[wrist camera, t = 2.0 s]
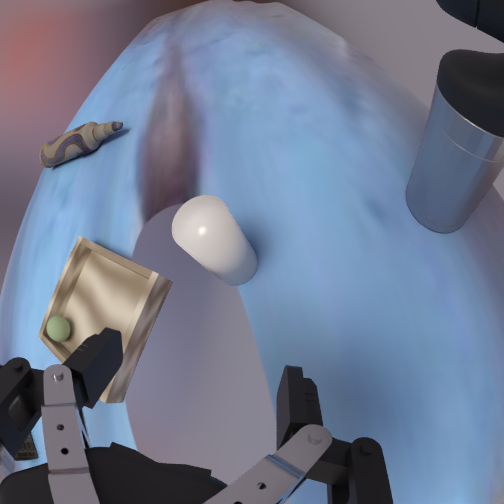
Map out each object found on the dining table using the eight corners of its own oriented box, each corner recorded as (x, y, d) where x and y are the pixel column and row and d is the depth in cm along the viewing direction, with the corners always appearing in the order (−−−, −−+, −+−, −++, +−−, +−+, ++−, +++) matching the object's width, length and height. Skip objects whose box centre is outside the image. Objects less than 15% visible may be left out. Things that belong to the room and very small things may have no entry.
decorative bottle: (50, 174, 57) (33, 160, 51) (61, 151, 59) (46, 137, 53) (123, 148, 50) (105, 127, 44) (134, 122, 53) (118, 101, 47)
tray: (93, 244, 42) (79, 235, 39) (172, 282, 36) (158, 273, 33) (53, 340, 38) (37, 336, 34) (122, 402, 31) (105, 403, 28)
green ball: (65, 314, 38) (47, 308, 34) (78, 325, 37) (59, 320, 33) (57, 336, 37) (39, 331, 33) (69, 348, 35) (50, 344, 32)
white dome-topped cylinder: (225, 238, 36) (188, 190, 26) (264, 250, 34) (238, 201, 25) (207, 277, 35) (162, 240, 25) (247, 292, 33) (211, 258, 23)
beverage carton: (17, 366, 38) (-9, 361, 32) (41, 459, 30) (15, 461, 24) (3, 374, 39) (-21, 369, 33) (24, 459, 30) (0, 460, 24)
